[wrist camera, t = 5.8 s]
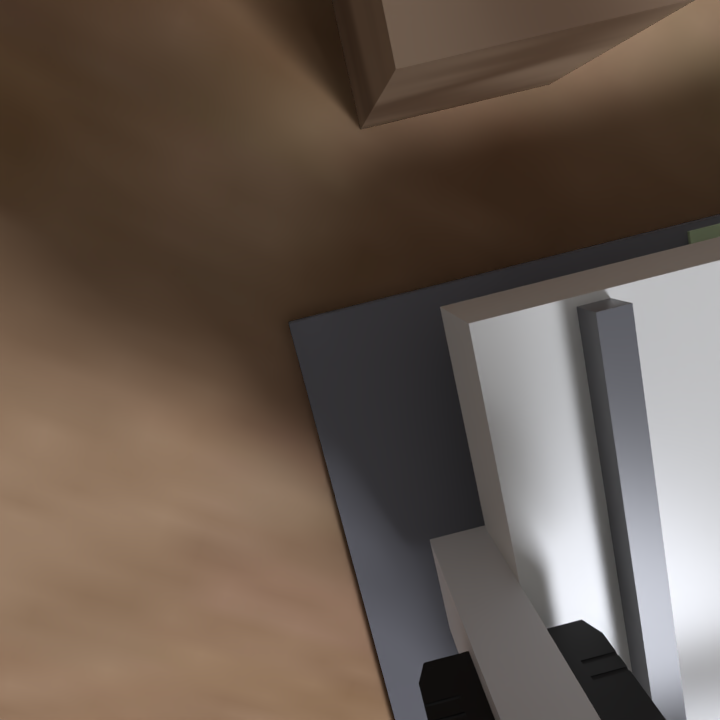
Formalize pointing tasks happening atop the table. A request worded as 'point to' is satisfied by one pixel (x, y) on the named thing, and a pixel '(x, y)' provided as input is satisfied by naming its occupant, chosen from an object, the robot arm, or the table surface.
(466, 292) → the grey holder base
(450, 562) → the robot arm
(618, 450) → the white tray
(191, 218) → the table surface
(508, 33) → the block
